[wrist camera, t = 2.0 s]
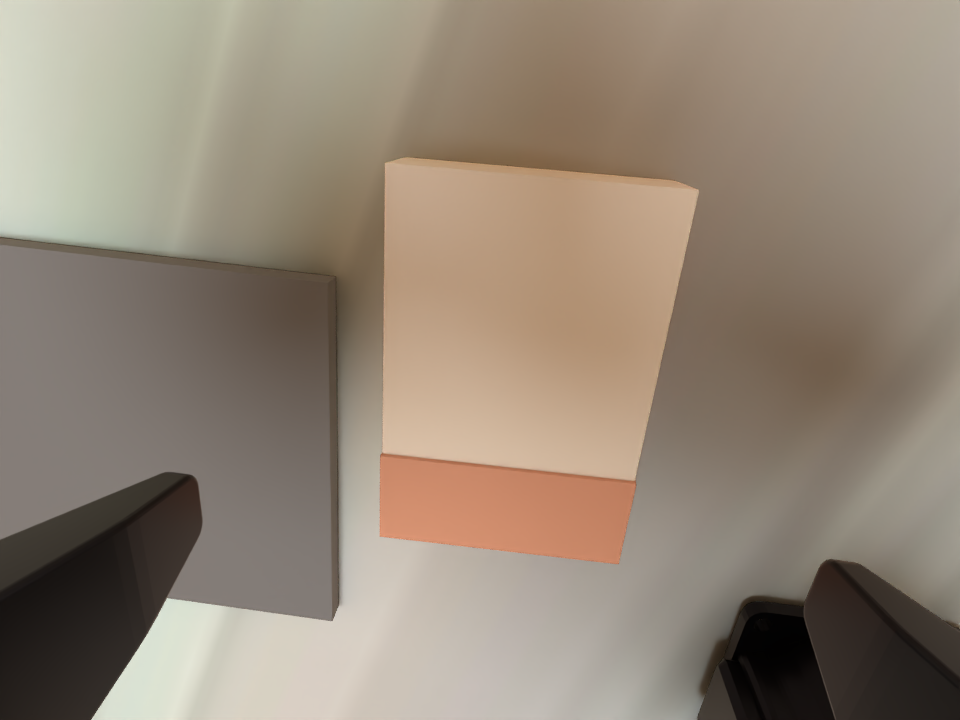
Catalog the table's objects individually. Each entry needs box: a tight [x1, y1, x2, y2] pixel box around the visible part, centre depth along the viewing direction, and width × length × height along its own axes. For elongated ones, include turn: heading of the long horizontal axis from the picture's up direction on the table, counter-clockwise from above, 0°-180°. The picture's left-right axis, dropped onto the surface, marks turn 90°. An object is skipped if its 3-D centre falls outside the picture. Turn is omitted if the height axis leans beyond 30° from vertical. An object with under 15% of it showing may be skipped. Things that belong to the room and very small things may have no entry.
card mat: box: [0, 238, 338, 621], centre depth 16 cm, size 12×11×1 cm
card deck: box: [380, 157, 699, 564], centre depth 13 cm, size 6×9×2 cm, turn 176°
